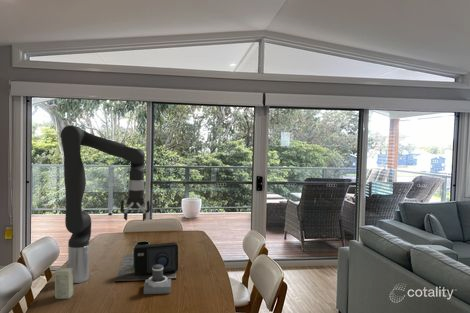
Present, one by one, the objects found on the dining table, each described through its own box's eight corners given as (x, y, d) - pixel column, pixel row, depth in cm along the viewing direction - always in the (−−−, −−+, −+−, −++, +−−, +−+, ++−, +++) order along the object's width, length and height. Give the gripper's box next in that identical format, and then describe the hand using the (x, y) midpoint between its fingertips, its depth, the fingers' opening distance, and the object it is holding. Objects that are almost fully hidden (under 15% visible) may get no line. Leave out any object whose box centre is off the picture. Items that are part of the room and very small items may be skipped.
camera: (133, 279, 173) (134, 249, 172) (133, 271, 182) (134, 243, 181) (179, 275, 179) (179, 247, 178) (177, 268, 188) (177, 241, 187)
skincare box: (73, 294, 154) (73, 267, 154) (69, 299, 150) (69, 271, 149) (58, 294, 154) (59, 267, 153) (54, 298, 150) (54, 271, 149)
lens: (151, 285, 159) (151, 268, 158) (152, 280, 164) (153, 264, 163) (162, 285, 160) (162, 268, 159) (163, 280, 165) (163, 264, 164)
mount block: (143, 294, 157) (143, 283, 157) (145, 285, 166) (145, 275, 165) (170, 293, 159) (170, 282, 158) (171, 284, 168) (171, 274, 167)
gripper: (120, 189, 170) (118, 221, 171) (149, 190, 172) (148, 222, 173) (122, 187, 177) (121, 218, 178) (151, 187, 179) (150, 218, 180)
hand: (134, 220), depth 175 cm, fingers open, 8 cm apart
